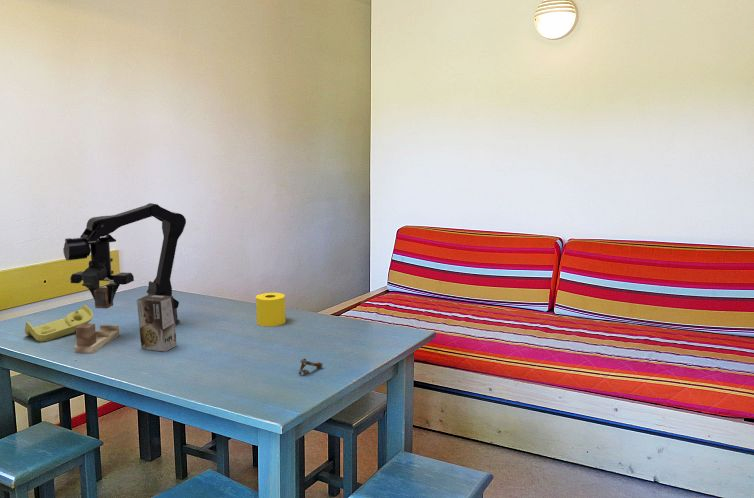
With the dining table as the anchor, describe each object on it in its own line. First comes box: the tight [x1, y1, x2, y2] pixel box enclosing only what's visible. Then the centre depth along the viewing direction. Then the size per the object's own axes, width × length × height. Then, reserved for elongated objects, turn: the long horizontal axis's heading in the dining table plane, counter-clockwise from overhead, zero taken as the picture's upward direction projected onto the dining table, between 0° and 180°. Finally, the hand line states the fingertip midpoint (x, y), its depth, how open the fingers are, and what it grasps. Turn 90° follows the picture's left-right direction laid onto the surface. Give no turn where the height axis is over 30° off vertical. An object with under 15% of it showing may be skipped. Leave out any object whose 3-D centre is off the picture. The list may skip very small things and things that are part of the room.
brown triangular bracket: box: [298, 358, 324, 376], centre depth 175 cm, size 2×8×4 cm, turn 139°
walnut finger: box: [93, 286, 114, 309], centre depth 204 cm, size 4×5×6 cm
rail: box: [73, 323, 121, 354], centre depth 199 cm, size 6×17×8 cm, turn 176°
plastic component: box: [24, 304, 94, 343], centre depth 212 cm, size 20×7×10 cm
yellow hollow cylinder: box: [255, 292, 286, 327], centre depth 221 cm, size 10×10×9 cm
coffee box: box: [136, 294, 178, 352], centre depth 195 cm, size 9×6×16 cm
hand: (104, 303), depth 205 cm, fingers closed on walnut finger, 4 cm apart
